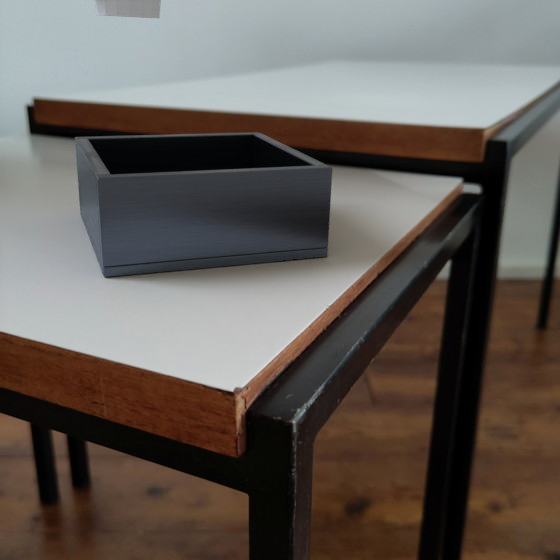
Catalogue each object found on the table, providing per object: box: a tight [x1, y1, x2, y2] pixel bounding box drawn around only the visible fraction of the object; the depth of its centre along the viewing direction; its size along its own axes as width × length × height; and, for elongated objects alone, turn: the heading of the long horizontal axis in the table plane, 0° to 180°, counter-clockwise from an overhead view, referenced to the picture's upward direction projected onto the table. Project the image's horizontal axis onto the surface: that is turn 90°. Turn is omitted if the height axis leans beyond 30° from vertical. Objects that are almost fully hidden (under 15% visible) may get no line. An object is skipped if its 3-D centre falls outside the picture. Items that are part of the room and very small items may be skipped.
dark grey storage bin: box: [74, 131, 333, 278], centre depth 46 cm, size 14×14×6 cm
